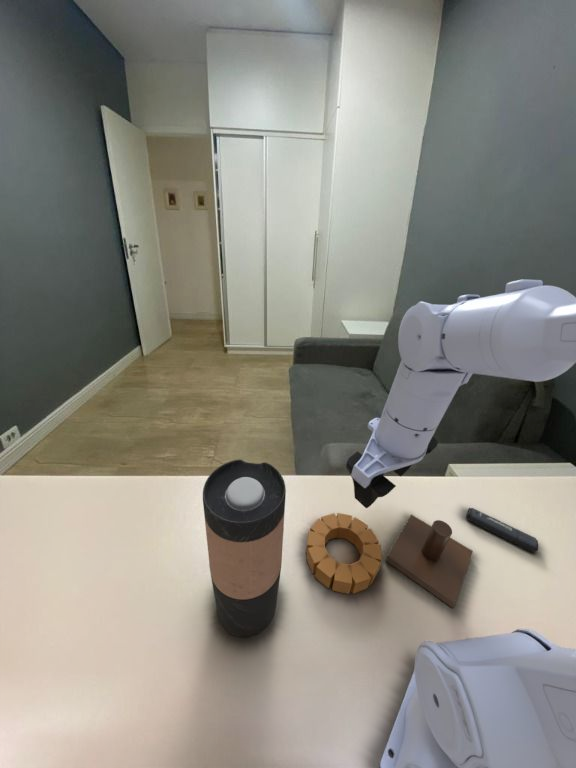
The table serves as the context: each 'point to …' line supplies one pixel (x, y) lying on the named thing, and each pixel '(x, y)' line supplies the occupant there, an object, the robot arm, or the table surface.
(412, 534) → the post stand
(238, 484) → the travel mug
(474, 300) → the robot arm
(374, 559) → the notched ring
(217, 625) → the table surface
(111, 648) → the table surface
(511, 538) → the usb stick
